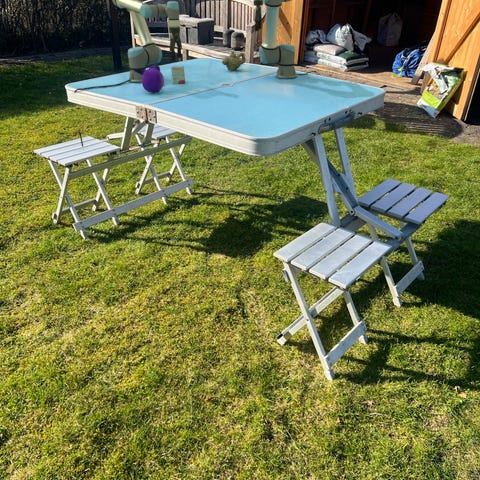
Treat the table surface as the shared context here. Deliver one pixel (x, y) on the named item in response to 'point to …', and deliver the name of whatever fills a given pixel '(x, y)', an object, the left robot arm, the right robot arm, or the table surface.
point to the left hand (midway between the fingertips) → (176, 59)
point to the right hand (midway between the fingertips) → (258, 30)
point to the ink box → (178, 74)
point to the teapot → (233, 61)
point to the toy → (152, 79)
